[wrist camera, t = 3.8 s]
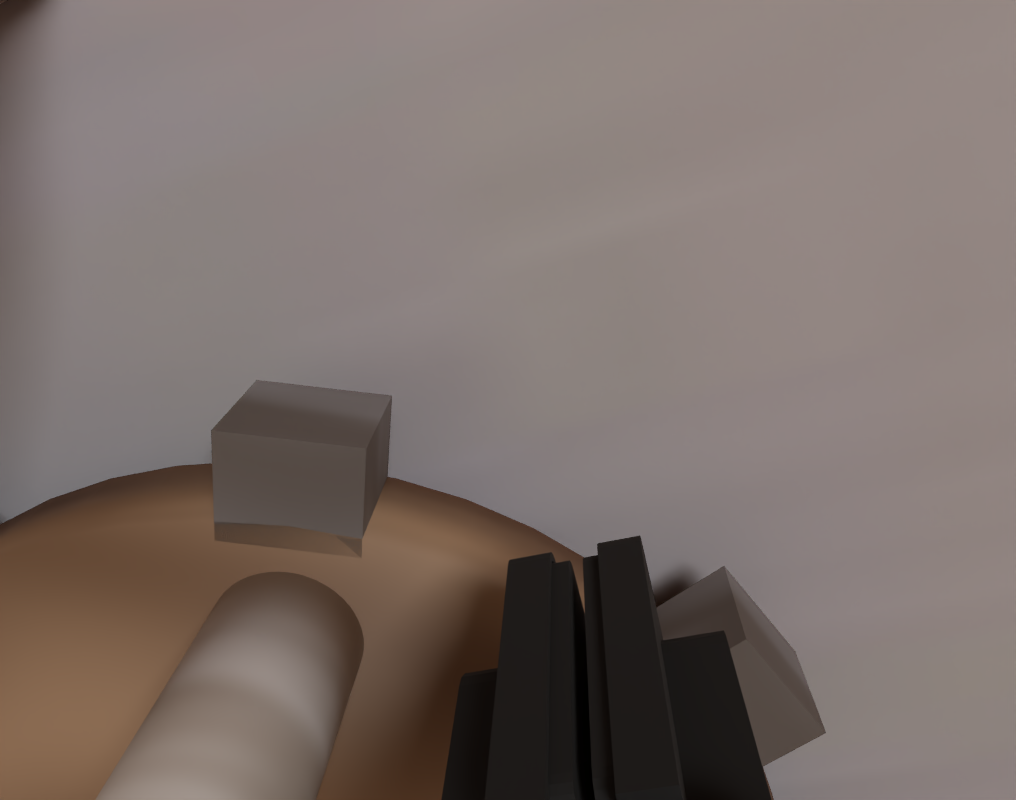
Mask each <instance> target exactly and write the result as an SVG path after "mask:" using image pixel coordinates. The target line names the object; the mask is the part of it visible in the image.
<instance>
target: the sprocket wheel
mask: <svg viewBox="0 0 1016 800" xmlns="http://www.w3.org/2000/svg"><path fill="white" fill-rule="evenodd" d="M391 403H392V396H389V395H381V394H372V393H363V392H355V391H346V390H337V389H329V388H320V387H311V386H303V385H294V384H285V383H277V382H268V381H259V380H256V382H255V383H254V384H253V385H252V386H251V387H250V388H249V389H248V390H247V392H246V393H245V394H244V395H243V396H242V397H241V398H240V399H239V400H238V401H237V403H236V404H235V405H234V406H233V407H232V408H231V409H230V410H229V411H228V413H227V414H226V415H225V416H224V417H223V418H222V419H221V420H220V421H219V422H218V424H217V425H216V426H215V427H214V428H213V429H212V430H211V438H212V464H198V465H182V466H174V467H169V468H164V469H158V470H153V471H148V472H143V473H138V474H132V475H127V476H122V477H117V478H112V479H108V480H105V481H102V482H99V483H96V484H93V485H90V486H88V487H85V488H82V489H79V490H76V491H73V492H70V493H67V494H64V495H61V496H58V497H55V498H52V499H49V500H47V501H45V502H43V503H41V504H39V505H37V506H36V507H34V508H32V509H30V510H28V511H26V512H24V513H22V514H20V515H18V516H16V517H14V518H12V519H10V520H8V521H6V522H4V523H2V524H0V800H441V799H442V792H443V786H444V779H445V773H446V767H447V760H448V754H449V747H450V741H451V735H452V728H453V722H454V715H455V709H456V703H457V696H458V690H459V685H460V681H461V677H462V676H463V675H464V674H465V673H470V672H476V671H482V670H488V669H494V668H498V659H499V649H500V639H501V629H502V619H503V609H504V599H505V589H506V579H507V569H508V562H509V560H511V559H516V558H521V557H527V556H532V555H538V554H543V553H549V552H552V554H553V555H554V558H555V561H556V563H558V562H563V561H569V560H570V561H571V563H572V566H573V570H574V573H575V577H576V581H577V585H578V589H579V593H580V597H581V601H582V605H583V609H584V612H585V603H584V579H583V558H584V557H582V556H581V555H579V554H577V553H575V552H574V551H572V550H570V549H568V548H567V547H565V546H563V545H562V544H560V543H558V542H556V541H555V540H553V539H551V538H549V537H548V536H546V535H544V534H543V533H541V532H539V531H537V530H536V529H534V528H532V527H529V526H527V525H525V524H522V523H520V522H518V521H515V520H513V519H511V518H508V517H506V516H504V515H501V514H499V513H497V512H494V511H492V510H490V509H487V508H485V507H483V506H480V505H478V504H476V503H473V502H471V501H469V500H466V499H463V498H460V497H456V496H453V495H450V494H446V493H443V492H440V491H436V490H433V489H429V488H426V487H423V486H419V485H416V484H413V483H409V482H406V481H403V480H399V479H396V478H390V477H387V475H388V457H389V439H390V421H391ZM656 609H657V613H658V618H659V622H660V627H661V631H662V636H663V640H668V639H674V638H680V637H686V636H692V635H698V634H704V633H710V632H716V631H722V630H724V632H725V634H726V638H727V641H728V644H729V648H730V652H731V655H732V659H733V662H734V666H735V670H736V673H737V677H738V680H739V684H740V688H741V691H742V695H743V698H744V702H745V706H746V709H747V713H748V716H749V720H750V724H751V727H752V731H753V734H754V738H755V742H756V745H757V749H758V752H759V756H760V760H761V763H762V767H763V766H765V765H766V764H768V763H770V762H772V761H774V760H776V759H778V758H780V757H781V756H783V755H785V754H787V753H789V752H791V751H793V750H795V749H796V748H798V747H800V746H802V745H804V744H806V743H808V742H810V741H811V740H813V739H815V738H817V737H819V736H821V735H823V734H825V733H826V732H825V729H824V726H823V724H822V721H821V718H820V716H819V713H818V710H817V708H816V705H815V703H814V700H813V697H812V695H811V692H810V689H809V687H808V684H807V681H806V679H805V676H804V674H803V671H802V668H801V666H800V663H799V660H798V658H797V655H796V652H795V651H794V649H793V648H792V647H791V646H790V645H789V643H788V642H787V641H786V640H785V639H784V637H783V636H782V635H781V634H780V632H779V631H778V630H777V629H776V628H775V626H774V625H773V624H772V623H771V622H770V620H769V619H768V618H767V617H766V616H765V614H764V613H763V612H762V611H761V610H760V608H759V607H758V606H757V605H756V604H755V602H754V601H753V600H752V599H751V598H750V596H749V595H748V594H747V593H746V592H745V590H744V589H743V588H742V587H741V586H740V584H739V583H738V582H737V581H736V580H735V578H734V577H733V576H732V575H731V574H730V572H729V571H728V570H727V569H726V568H725V566H723V567H722V568H720V569H718V570H717V571H715V572H713V573H712V574H710V575H709V576H707V577H705V578H704V579H702V580H700V581H699V582H697V583H696V584H694V585H692V586H691V587H689V588H687V589H686V590H684V591H683V592H681V593H679V594H678V595H676V596H674V597H673V598H671V599H670V600H668V601H666V602H665V603H663V604H661V605H660V606H658V607H657V608H656ZM763 770H764V769H763ZM764 774H765V772H764ZM765 778H766V775H765ZM766 781H767V778H766ZM767 785H768V788H769V792H770V796H771V799H772V800H774V799H773V796H772V792H771V789H770V786H769V784H768V781H767Z"/></svg>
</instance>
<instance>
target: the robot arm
mask: <svg viewBox="0 0 1016 800" xmlns="http://www.w3.org/2000/svg"><path fill="white" fill-rule="evenodd" d="M597 549H598V555H596V556H591V557H585V558H583V579H584V603H585V612H584V609H583V605H582V601H581V597H580V593H579V589H578V585H577V581H576V577H575V573H574V570H573V566H572V563H571V561H570V560H569V561H563V562H558V563H556V561H555V558H554V555H553V554H552V552H549V553H543V554H538V555H532V556H527V557H521V558H516V559H511V560H509V562H508V569H507V579H506V589H505V599H504V609H503V619H502V629H501V639H500V649H499V659H498V668H494V669H488V670H482V671H476V672H470V673H465V674H464V675H463V676H462V677H461V681H460V685H459V690H458V696H457V703H456V709H455V715H454V722H453V728H452V735H451V741H450V747H449V754H448V760H447V767H446V773H445V779H444V786H443V792H442V799H441V800H772V799H771V796H770V792H769V788H768V785H767V781H766V778H765V774H764V770H763V767H762V763H761V760H760V756H759V752H758V749H757V745H756V742H755V738H754V734H753V731H752V727H751V724H750V720H749V716H748V713H747V709H746V706H745V702H744V698H743V695H742V691H741V688H740V684H739V680H738V677H737V673H736V670H735V666H734V662H733V659H732V655H731V652H730V648H729V644H728V641H727V638H726V634H725V632H724V630H722V631H716V632H710V633H704V634H698V635H692V636H686V637H680V638H674V639H668V640H663V636H662V631H661V627H660V622H659V618H658V613H657V609H656V604H655V599H654V595H653V590H652V586H651V581H650V577H649V572H648V568H647V563H646V559H645V554H644V550H643V545H642V541H641V537H640V536H636V537H630V538H625V539H619V540H614V541H608V542H603V543H598V544H597Z"/></svg>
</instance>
